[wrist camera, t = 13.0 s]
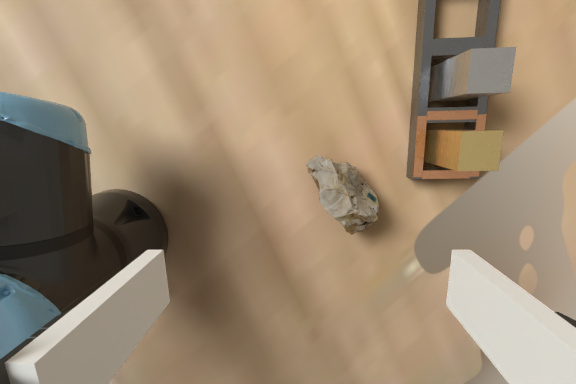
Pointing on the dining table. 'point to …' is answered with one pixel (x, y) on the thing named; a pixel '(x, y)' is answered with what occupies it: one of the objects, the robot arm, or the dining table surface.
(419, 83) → the grey block rack
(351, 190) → the rock
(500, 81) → the grey square-ended block
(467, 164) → the tan rectangular block
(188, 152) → the dining table surface
